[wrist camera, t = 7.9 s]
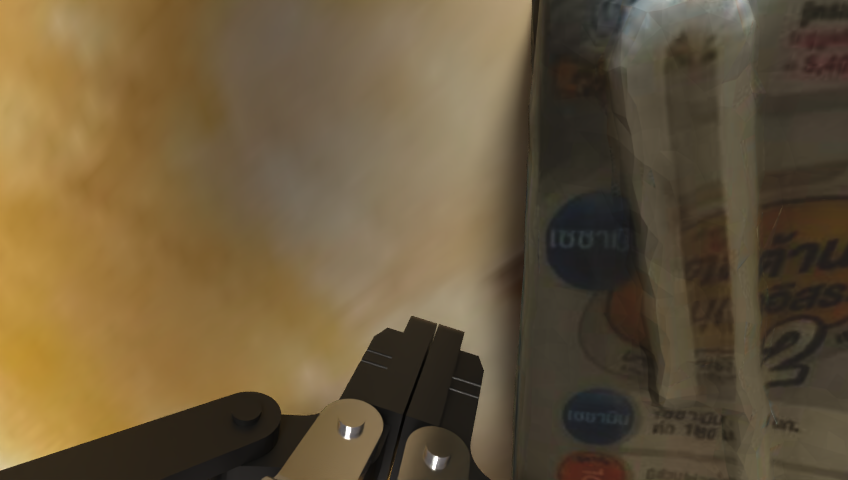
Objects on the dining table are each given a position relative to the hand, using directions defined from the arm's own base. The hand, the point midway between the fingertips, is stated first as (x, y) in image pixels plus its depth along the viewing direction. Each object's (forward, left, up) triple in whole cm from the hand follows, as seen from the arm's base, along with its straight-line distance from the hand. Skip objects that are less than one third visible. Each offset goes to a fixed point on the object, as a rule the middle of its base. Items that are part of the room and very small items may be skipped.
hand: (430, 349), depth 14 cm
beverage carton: (-1, +6, -4) cm, 7 cm away
